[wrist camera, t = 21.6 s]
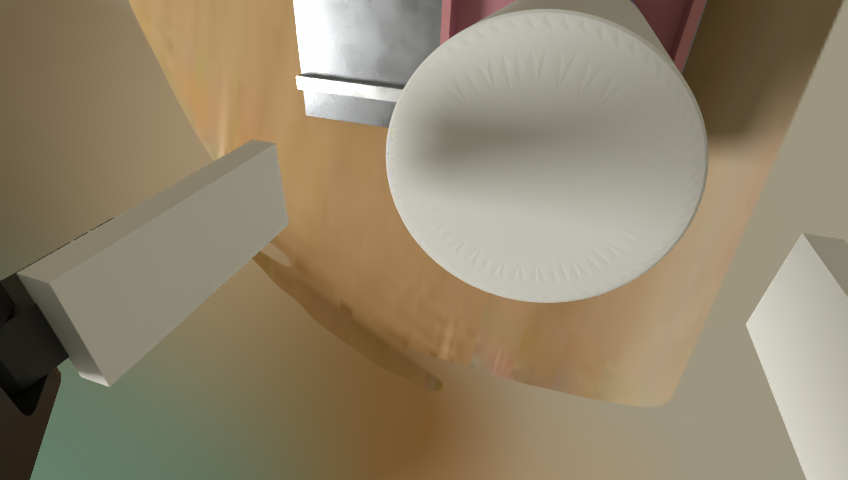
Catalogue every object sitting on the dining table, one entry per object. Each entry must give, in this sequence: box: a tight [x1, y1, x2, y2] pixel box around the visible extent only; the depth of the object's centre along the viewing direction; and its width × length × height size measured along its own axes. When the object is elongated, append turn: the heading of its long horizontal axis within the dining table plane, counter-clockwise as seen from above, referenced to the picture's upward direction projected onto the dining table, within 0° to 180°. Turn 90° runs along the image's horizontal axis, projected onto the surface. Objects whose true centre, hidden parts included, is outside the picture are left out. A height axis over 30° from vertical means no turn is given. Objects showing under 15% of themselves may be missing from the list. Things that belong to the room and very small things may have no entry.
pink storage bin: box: [440, 0, 706, 73], centre depth 31 cm, size 15×15×6 cm
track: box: [293, 0, 708, 128], centre depth 37 cm, size 17×33×2 cm, turn 89°
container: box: [386, 0, 708, 303], centre depth 22 cm, size 10×10×20 cm
